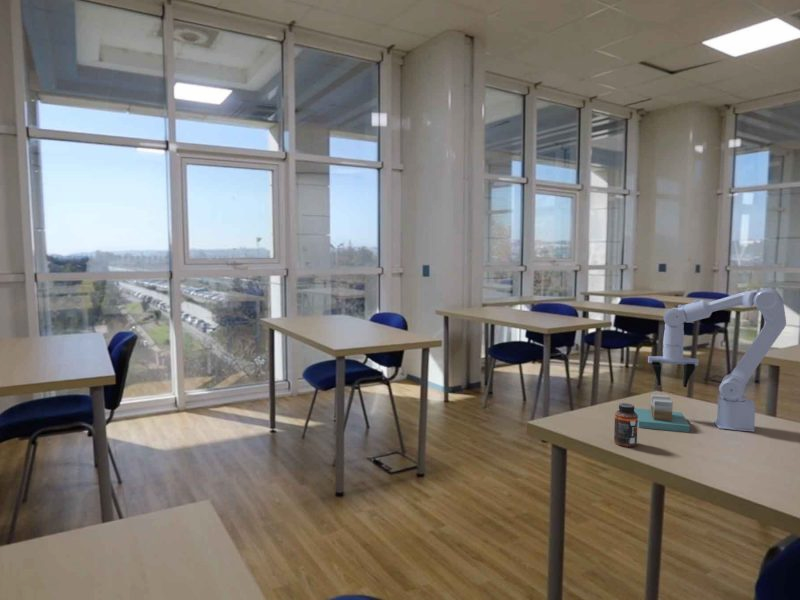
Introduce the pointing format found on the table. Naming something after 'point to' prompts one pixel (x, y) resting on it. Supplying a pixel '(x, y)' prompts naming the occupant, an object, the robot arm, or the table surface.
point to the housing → (661, 407)
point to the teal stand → (675, 425)
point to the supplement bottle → (626, 425)
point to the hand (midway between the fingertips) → (671, 385)
